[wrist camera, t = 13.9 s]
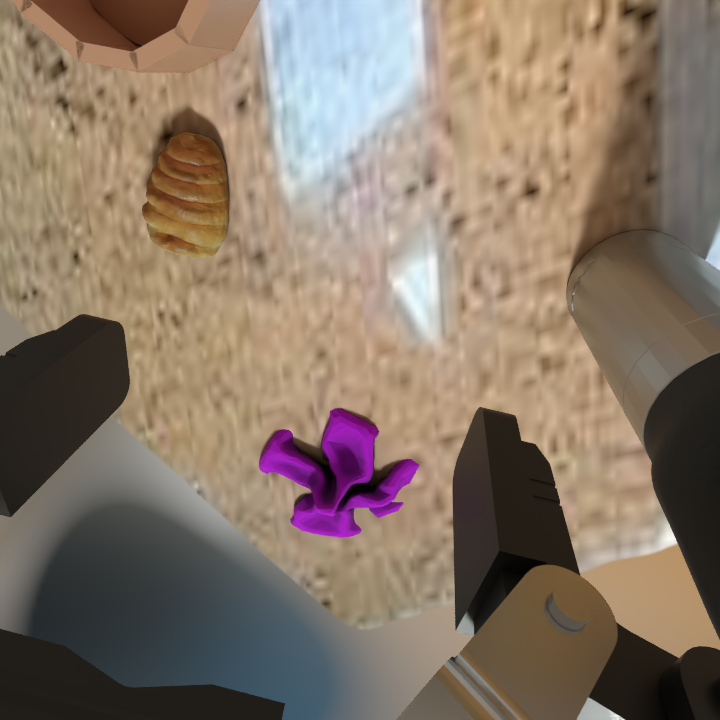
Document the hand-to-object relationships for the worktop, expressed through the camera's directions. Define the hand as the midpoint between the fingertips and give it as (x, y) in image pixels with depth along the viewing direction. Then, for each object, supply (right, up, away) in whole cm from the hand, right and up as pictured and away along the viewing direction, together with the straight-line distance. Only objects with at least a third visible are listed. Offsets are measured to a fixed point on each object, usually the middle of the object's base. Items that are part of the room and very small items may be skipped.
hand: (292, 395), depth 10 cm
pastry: (-12, +14, +29) cm, 35 cm away
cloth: (0, -12, +43) cm, 45 cm away
